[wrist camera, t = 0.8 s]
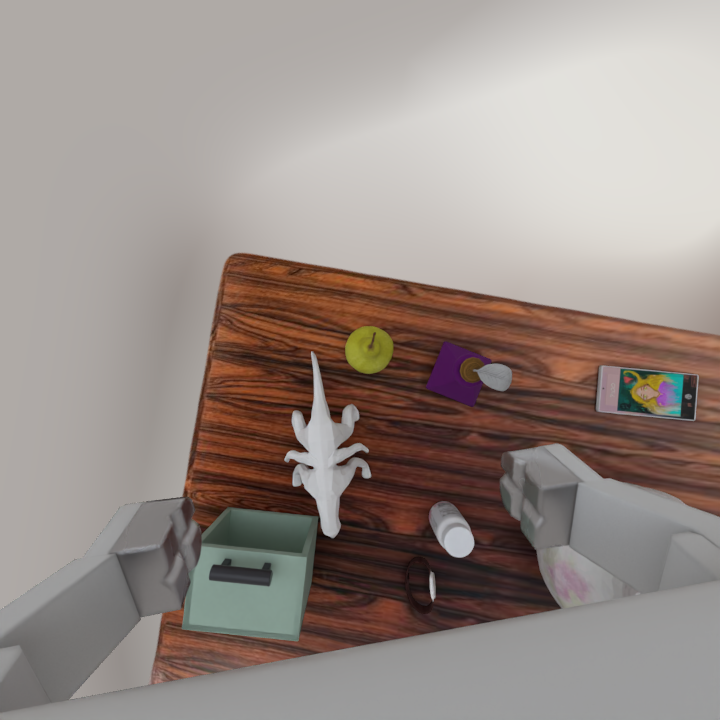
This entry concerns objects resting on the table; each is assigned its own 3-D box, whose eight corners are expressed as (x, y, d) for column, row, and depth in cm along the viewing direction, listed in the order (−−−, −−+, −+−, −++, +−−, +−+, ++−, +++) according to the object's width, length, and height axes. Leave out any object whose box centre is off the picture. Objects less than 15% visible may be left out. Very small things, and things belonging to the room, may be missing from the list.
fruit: (379, 380, 56) (384, 384, 44) (339, 362, 56) (333, 360, 44) (397, 340, 56) (407, 332, 44) (357, 321, 56) (356, 309, 44)
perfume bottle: (421, 387, 56) (451, 395, 38) (439, 342, 56) (477, 329, 38) (466, 405, 56) (517, 422, 38) (484, 360, 56) (543, 356, 38)
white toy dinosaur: (297, 520, 55) (283, 553, 45) (280, 358, 56) (262, 356, 46) (375, 511, 55) (379, 542, 45) (357, 349, 56) (356, 345, 46)
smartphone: (695, 421, 55) (597, 412, 55) (690, 420, 56) (594, 411, 56) (698, 374, 55) (601, 365, 55) (694, 374, 56) (598, 365, 56)
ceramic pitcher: (485, 483, 56) (564, 585, 32) (599, 425, 55) (776, 485, 30) (551, 605, 56) (684, 805, 31) (668, 550, 55) (903, 714, 30)
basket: (311, 582, 55) (293, 663, 40) (220, 572, 55) (167, 650, 40) (318, 516, 55) (302, 572, 40) (227, 506, 55) (178, 559, 40)
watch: (437, 602, 55) (442, 619, 51) (406, 606, 55) (410, 623, 51) (431, 552, 55) (436, 565, 52) (401, 555, 55) (403, 568, 52)
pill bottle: (447, 537, 55) (463, 568, 47) (422, 519, 55) (433, 547, 47) (465, 512, 55) (484, 538, 47) (440, 494, 55) (454, 516, 47)
